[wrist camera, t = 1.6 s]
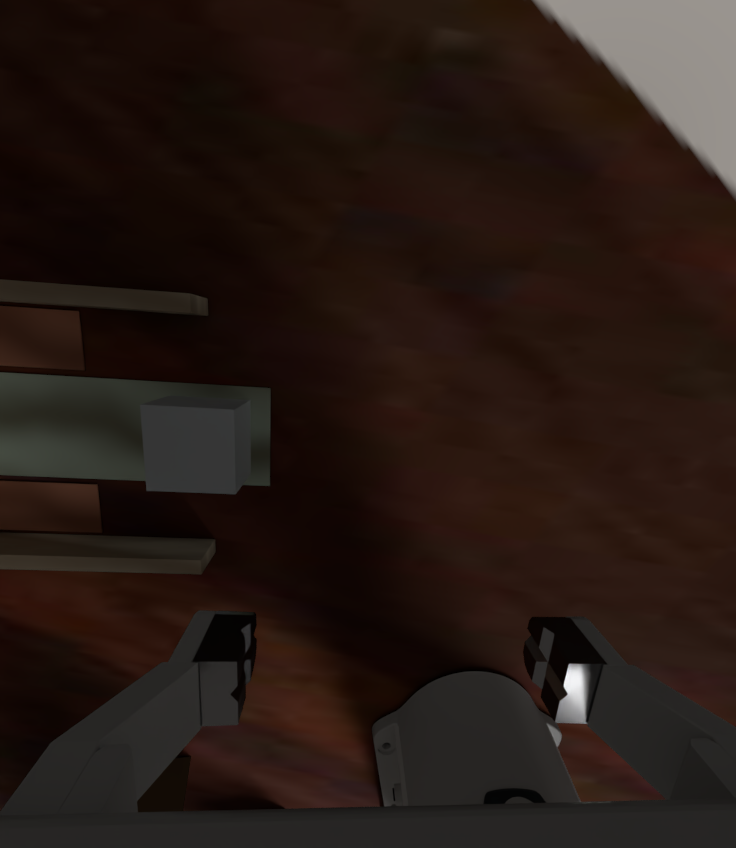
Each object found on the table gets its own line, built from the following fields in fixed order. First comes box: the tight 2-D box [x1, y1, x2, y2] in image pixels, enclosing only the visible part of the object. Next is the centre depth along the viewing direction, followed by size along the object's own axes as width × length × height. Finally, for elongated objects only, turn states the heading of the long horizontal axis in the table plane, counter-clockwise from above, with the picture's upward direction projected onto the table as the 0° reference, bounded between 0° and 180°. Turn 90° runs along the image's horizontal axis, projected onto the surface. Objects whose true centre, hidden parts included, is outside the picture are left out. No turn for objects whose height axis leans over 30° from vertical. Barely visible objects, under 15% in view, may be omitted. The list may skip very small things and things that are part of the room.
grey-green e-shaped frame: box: [0, 279, 271, 574], centre depth 26 cm, size 20×24×3 cm
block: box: [140, 395, 251, 494], centre depth 26 cm, size 6×6×4 cm
